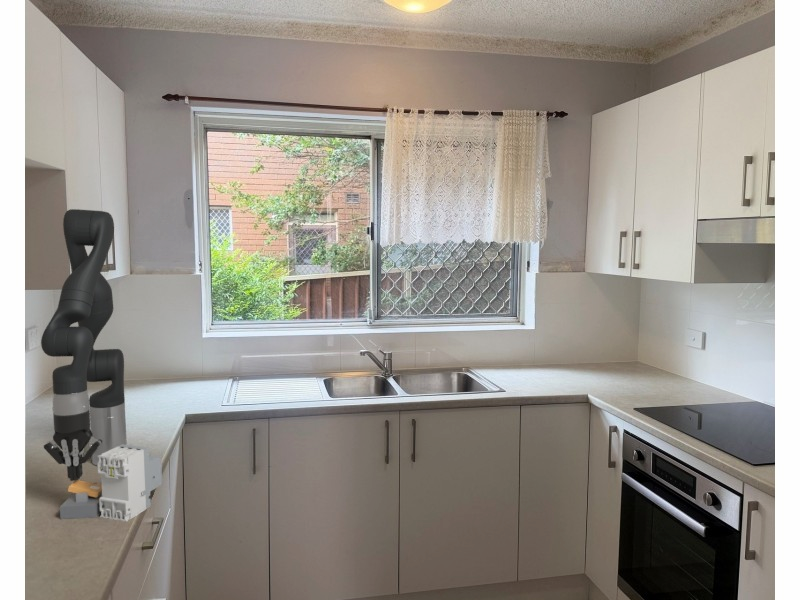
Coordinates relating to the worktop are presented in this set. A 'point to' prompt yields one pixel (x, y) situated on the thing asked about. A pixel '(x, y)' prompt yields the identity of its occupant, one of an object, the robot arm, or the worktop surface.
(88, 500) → the switch box
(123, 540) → the worktop surface
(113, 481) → the electrical contactor
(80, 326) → the robot arm
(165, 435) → the worktop surface
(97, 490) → the block
